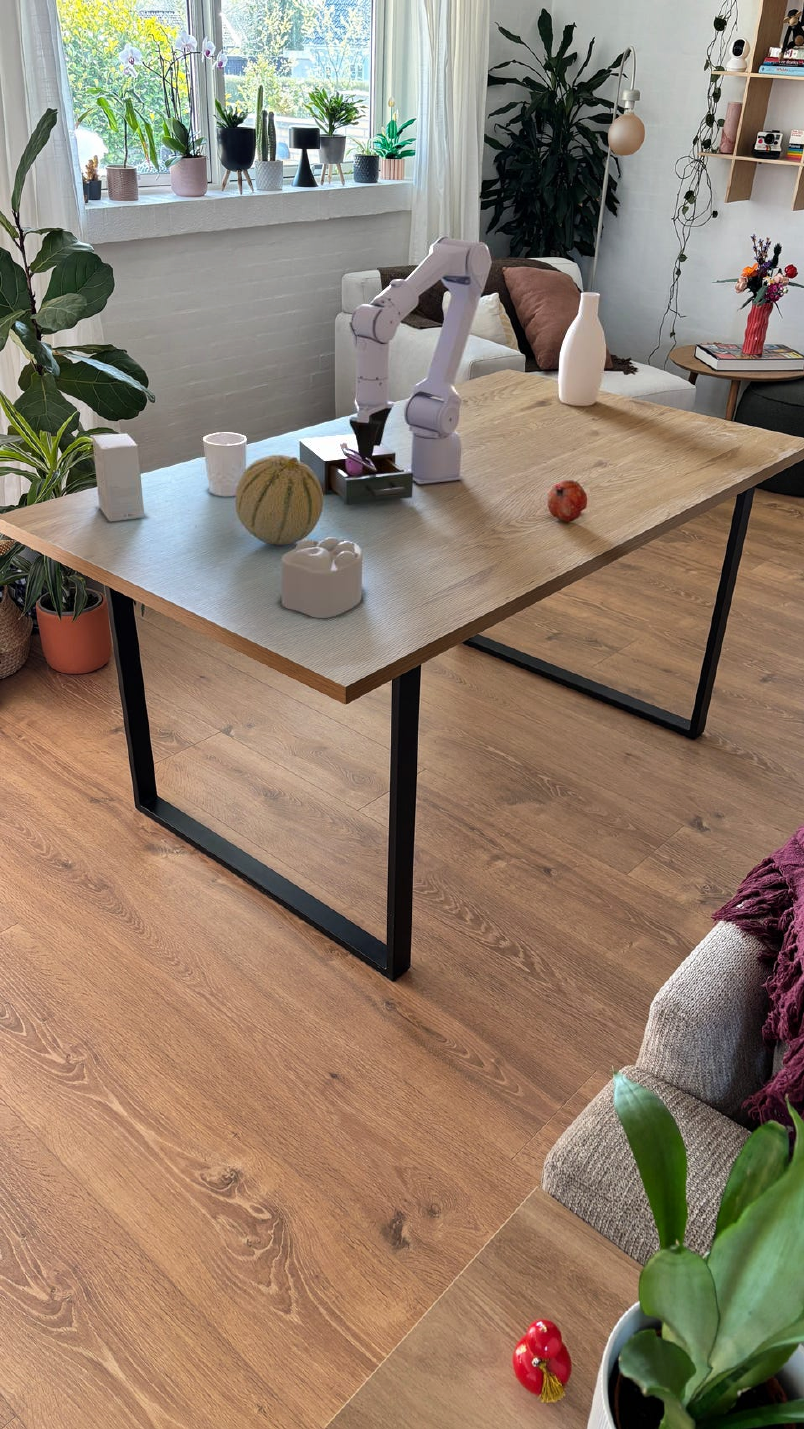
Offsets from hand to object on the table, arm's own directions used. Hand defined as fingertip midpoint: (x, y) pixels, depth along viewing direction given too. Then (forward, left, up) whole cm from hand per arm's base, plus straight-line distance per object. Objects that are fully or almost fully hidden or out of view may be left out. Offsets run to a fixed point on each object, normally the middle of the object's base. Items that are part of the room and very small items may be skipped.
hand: (370, 451), depth 201 cm
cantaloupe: (+23, +15, -9) cm, 29 cm away
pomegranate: (-30, +22, -9) cm, 38 cm away
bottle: (-77, -47, -9) cm, 91 cm away
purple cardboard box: (+1, 0, -4) cm, 5 cm away
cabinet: (0, -11, -9) cm, 14 cm away
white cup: (+24, -12, -9) cm, 28 cm away
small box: (+45, -7, -9) cm, 46 cm away
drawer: (0, +1, -8) cm, 8 cm away
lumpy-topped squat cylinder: (+24, +39, -9) cm, 47 cm away
